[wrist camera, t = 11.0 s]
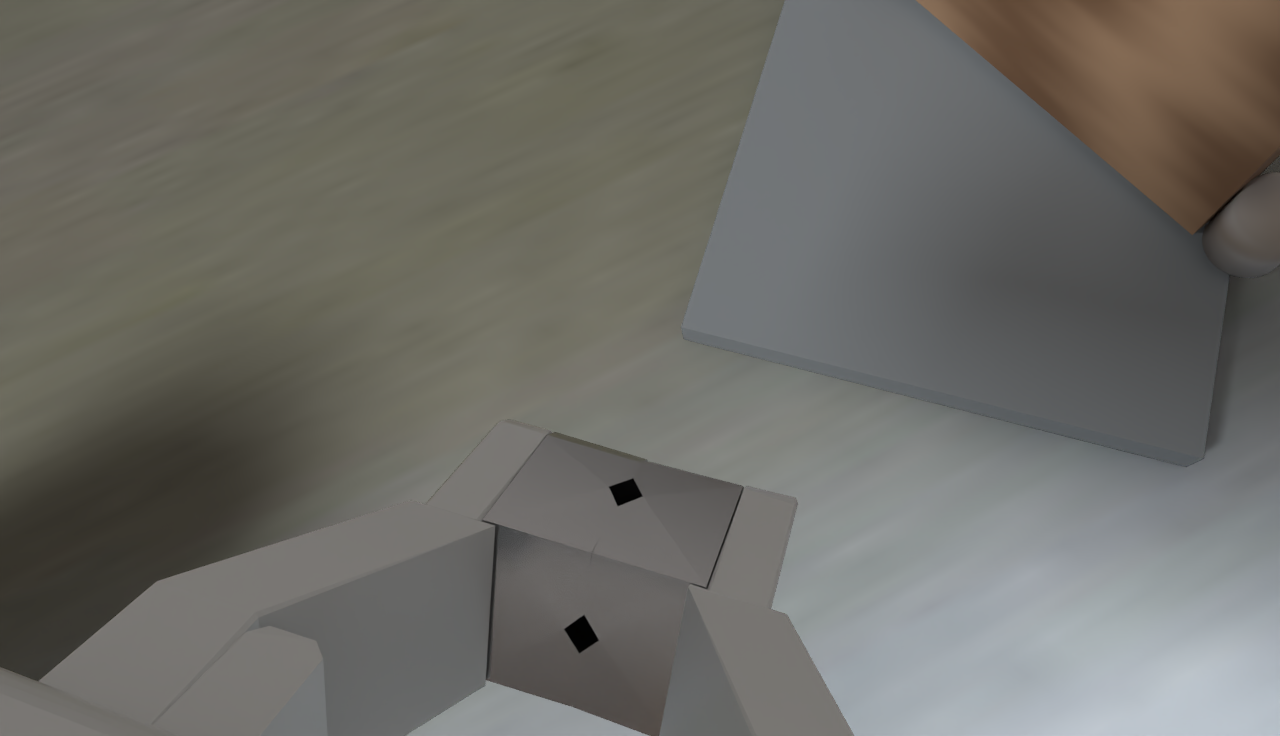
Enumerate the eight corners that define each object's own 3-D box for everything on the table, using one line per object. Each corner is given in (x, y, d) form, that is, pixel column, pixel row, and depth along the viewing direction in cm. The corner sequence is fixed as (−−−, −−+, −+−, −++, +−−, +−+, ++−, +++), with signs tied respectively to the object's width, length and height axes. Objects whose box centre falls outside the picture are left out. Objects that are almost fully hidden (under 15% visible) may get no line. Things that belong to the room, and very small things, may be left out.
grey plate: (683, 339, 27) (681, 327, 26) (857, -213, 33) (860, -239, 32) (1186, 466, 24) (1203, 458, 23) (1279, -163, 30) (1296, -190, 29)
